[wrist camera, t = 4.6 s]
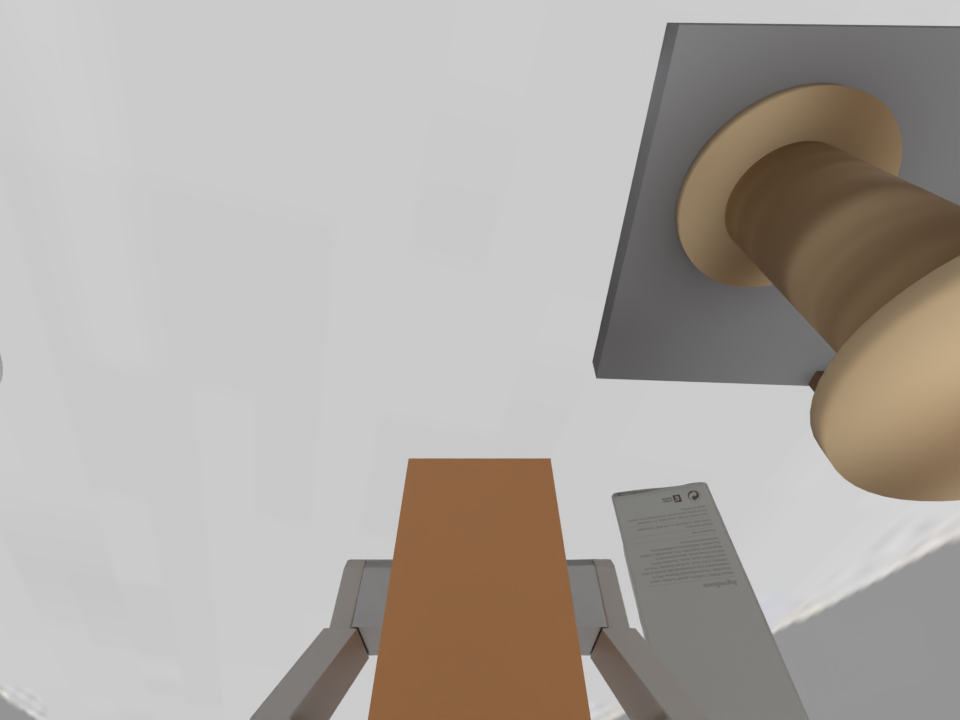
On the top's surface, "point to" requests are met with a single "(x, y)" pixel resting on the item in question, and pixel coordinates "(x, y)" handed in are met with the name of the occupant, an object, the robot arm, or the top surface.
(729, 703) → the skincare box
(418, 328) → the top surface
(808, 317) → the bobbin
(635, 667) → the robot arm
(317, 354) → the top surface
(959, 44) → the board
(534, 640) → the orange block
